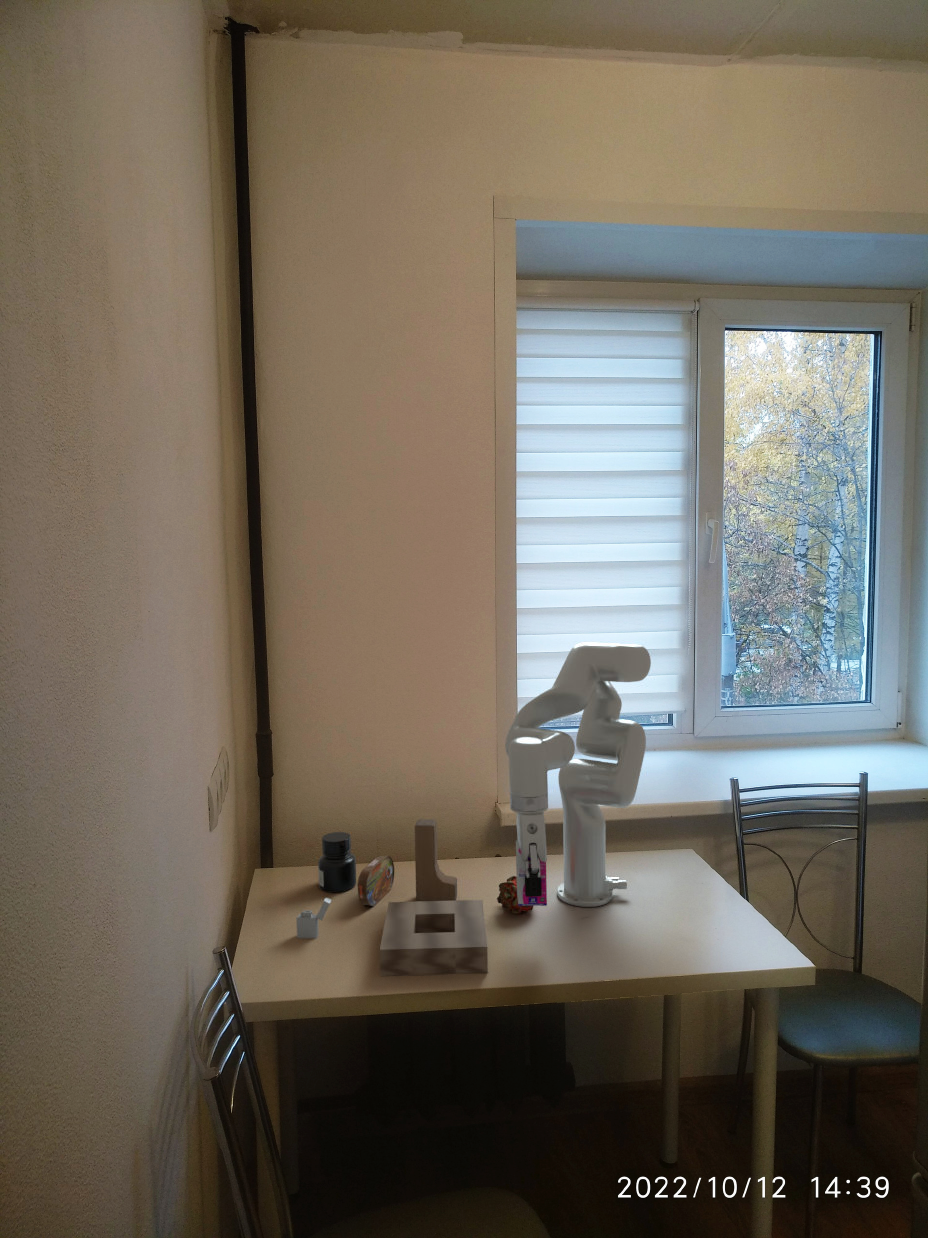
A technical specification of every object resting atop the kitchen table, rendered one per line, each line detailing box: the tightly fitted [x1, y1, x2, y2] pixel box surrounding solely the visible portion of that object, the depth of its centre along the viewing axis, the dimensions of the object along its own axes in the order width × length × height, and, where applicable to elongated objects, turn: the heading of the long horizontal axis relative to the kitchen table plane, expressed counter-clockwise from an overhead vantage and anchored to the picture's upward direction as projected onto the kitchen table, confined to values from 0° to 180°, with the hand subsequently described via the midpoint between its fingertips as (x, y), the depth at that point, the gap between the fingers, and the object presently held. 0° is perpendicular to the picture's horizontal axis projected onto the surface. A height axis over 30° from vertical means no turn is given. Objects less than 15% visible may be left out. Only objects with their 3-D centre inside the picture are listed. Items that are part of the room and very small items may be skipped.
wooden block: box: [414, 819, 458, 902], centre depth 170 cm, size 9×4×18 cm, turn 85°
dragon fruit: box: [496, 875, 534, 915], centre depth 164 cm, size 8×8×12 cm
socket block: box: [379, 899, 489, 977], centre depth 148 cm, size 20×20×5 cm
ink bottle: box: [317, 831, 357, 893], centre depth 178 cm, size 10×9×12 cm
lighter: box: [295, 897, 332, 939], centre depth 154 cm, size 7×2×8 cm, turn 86°
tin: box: [356, 855, 395, 907], centre depth 172 cm, size 15×3×8 cm, turn 161°
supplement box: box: [515, 839, 548, 907], centre depth 149 cm, size 6×6×12 cm
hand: (531, 887), depth 149 cm, fingers closed on supplement box, 5 cm apart
